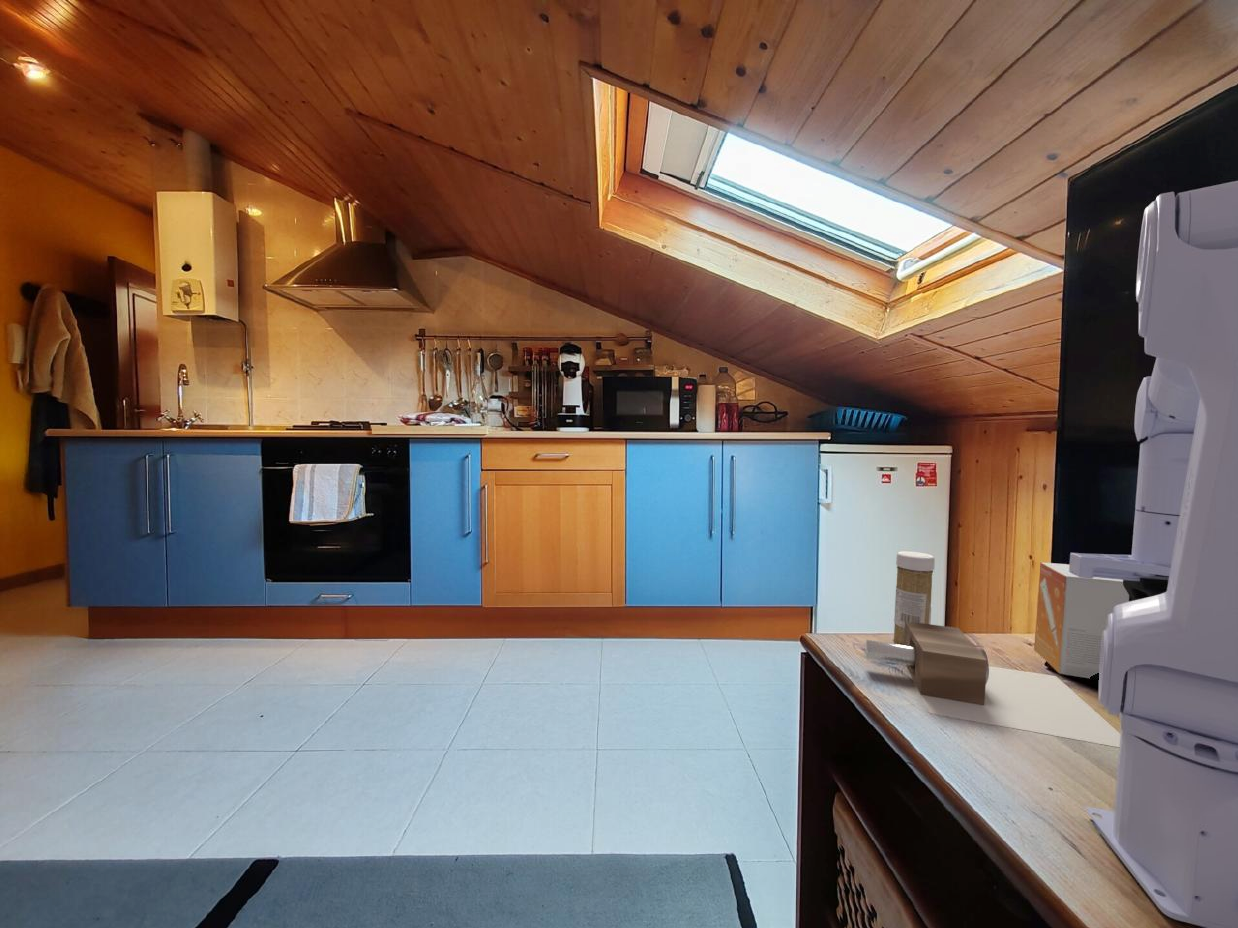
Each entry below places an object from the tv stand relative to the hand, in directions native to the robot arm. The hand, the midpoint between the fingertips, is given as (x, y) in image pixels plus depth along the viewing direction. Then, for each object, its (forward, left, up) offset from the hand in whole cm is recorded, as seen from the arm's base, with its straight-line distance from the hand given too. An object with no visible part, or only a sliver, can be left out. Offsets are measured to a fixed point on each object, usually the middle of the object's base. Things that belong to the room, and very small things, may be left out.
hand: (1168, 664), depth 45 cm
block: (+10, +15, -9) cm, 20 cm away
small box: (+22, -3, -10) cm, 24 cm away
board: (+9, +10, -9) cm, 16 cm away
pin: (+10, +17, -8) cm, 21 cm away
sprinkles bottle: (+21, +16, -10) cm, 28 cm away
